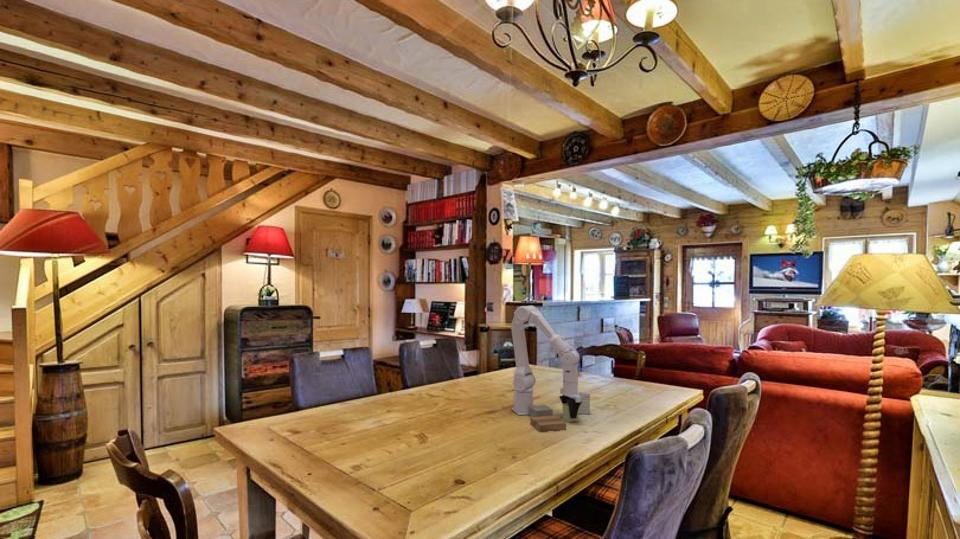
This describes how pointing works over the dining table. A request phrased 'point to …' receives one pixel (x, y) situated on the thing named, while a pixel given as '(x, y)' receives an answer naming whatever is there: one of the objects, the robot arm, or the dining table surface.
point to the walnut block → (548, 423)
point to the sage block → (568, 413)
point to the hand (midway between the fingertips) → (570, 416)
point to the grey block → (540, 411)
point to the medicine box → (584, 403)
